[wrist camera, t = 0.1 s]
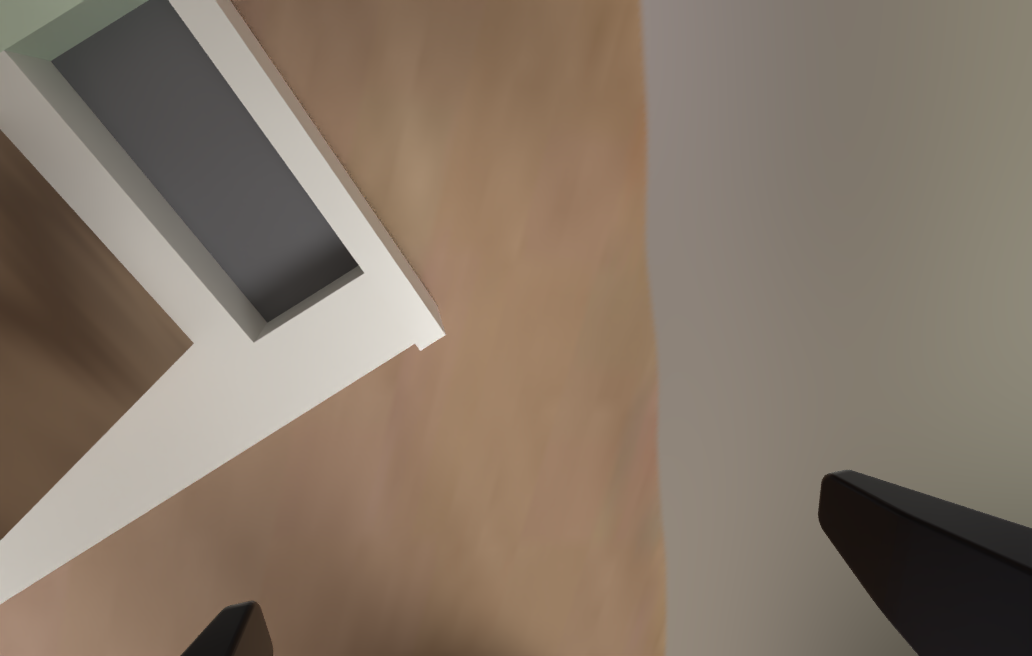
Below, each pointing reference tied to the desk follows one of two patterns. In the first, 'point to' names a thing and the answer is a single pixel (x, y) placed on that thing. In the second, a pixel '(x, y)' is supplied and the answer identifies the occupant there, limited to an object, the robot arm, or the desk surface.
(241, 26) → the box
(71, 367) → the walnut block
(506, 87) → the desk surface
